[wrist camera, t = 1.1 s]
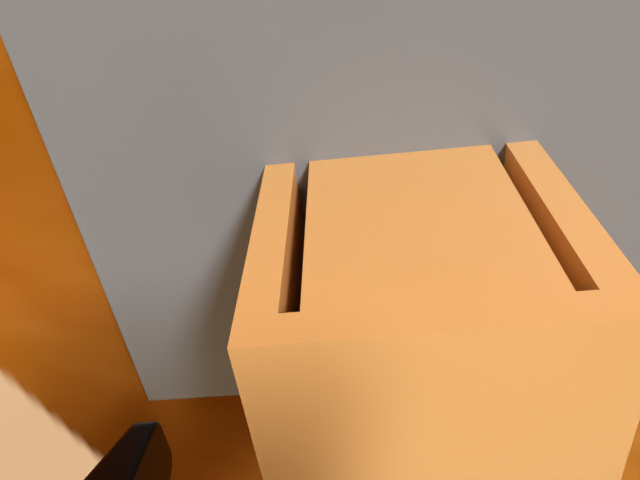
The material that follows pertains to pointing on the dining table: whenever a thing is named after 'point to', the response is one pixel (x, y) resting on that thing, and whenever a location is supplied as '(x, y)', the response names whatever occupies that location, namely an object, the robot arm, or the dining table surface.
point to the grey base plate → (297, 128)
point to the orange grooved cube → (436, 323)
